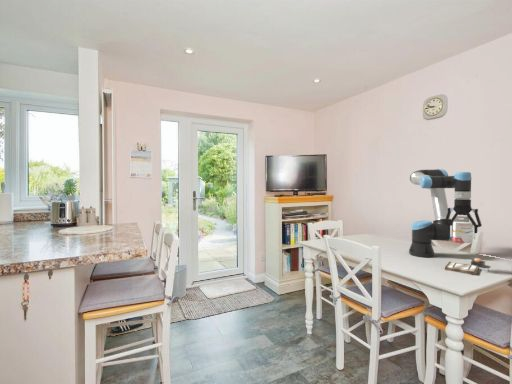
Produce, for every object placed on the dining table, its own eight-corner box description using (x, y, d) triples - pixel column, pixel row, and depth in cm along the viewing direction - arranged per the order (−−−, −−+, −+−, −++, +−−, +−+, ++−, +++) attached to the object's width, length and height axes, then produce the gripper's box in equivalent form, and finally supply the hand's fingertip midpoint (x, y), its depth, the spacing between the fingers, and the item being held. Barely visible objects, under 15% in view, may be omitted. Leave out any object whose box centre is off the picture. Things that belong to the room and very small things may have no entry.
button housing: (471, 265, 160) (471, 261, 160) (472, 263, 164) (472, 259, 164) (484, 267, 156) (484, 263, 156) (485, 265, 160) (485, 261, 160)
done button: (473, 262, 160) (473, 258, 160) (474, 260, 162) (474, 257, 162) (481, 263, 157) (481, 260, 157) (482, 262, 160) (482, 258, 160)
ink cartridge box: (455, 242, 153) (455, 217, 152) (451, 240, 157) (452, 216, 157) (473, 243, 150) (473, 217, 149) (469, 241, 155) (469, 216, 154)
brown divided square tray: (444, 269, 154) (444, 266, 154) (449, 263, 164) (449, 261, 164) (476, 275, 144) (476, 272, 144) (479, 268, 155) (479, 265, 154)
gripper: (438, 198, 158) (437, 236, 159) (487, 199, 142) (487, 241, 143) (440, 198, 163) (440, 234, 164) (488, 199, 148) (488, 239, 148)
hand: (462, 237), depth 154 cm, fingers closed on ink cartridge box, 10 cm apart
